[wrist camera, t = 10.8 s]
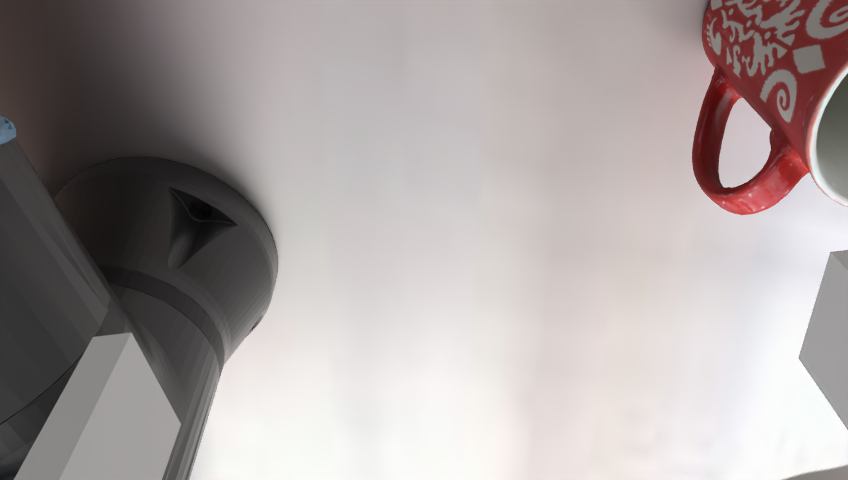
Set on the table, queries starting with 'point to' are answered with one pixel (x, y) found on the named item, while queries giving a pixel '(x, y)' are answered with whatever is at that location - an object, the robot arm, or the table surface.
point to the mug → (777, 96)
